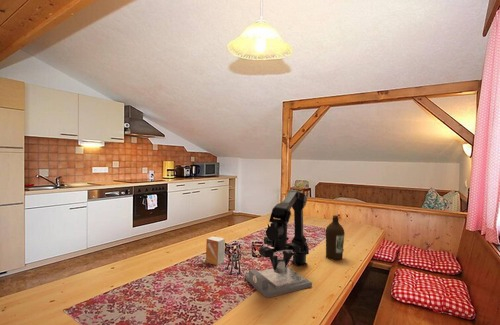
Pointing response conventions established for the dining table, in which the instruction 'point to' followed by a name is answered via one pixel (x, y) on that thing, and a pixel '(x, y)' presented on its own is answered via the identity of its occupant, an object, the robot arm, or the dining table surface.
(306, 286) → the kitchen scale
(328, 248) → the olive oil
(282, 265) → the steel spacer
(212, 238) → the small box
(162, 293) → the dining table surface
